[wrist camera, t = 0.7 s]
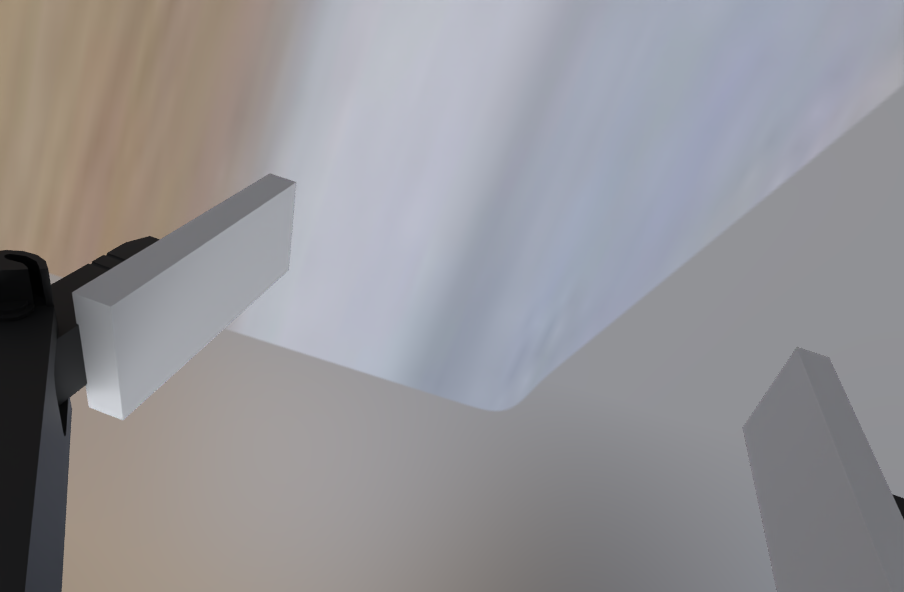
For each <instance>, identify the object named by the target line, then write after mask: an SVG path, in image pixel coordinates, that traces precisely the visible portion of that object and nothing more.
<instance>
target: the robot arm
mask: <svg viewBox="0 0 904 592" xmlns="http://www.w3.org/2000/svg"><path fill="white" fill-rule="evenodd" d="M295 191H296V182H294V181H291V180H288V179H285V178H282V177H279V176H276V175H273V174H268V175H267V176H265V177H263V178H262V179H260V180H258V181H257V182H255V183H253V184H252V185H250V186H248V187H247V188H245V189H243V190H242V191H240V192H238V193H237V194H235V195H233V196H232V197H230V198H228V199H227V200H225V201H223V202H222V203H220V204H218V205H217V206H215V207H213V208H212V209H210V210H208V211H207V212H205V213H203V214H202V215H200V216H198V217H197V218H195V219H193V220H192V221H190V222H188V223H187V224H185V225H183V226H182V227H180V228H178V229H177V230H175V231H173V232H172V233H170V234H168V235H167V236H165V237H163V238H162V239H160V240H159V239H157V238H154V237H151V236H149V237H145V238H141V239H137V240H133V241H130V242H126V243H124V244H122V245H120V246H119V247H117V248H115V249H113V250H112V251H110V252H108V253H107V255H106V256H105V255H103V256H101V257H99V258H97V259H96V260H94V261H92V264H87V265H85V266H83V267H82V268H80V269H78V270H76V271H75V272H73V273H71V274H69V275H67V276H66V277H64V278H62V279H60V280H59V281H57V282H55V283H53V284H52V285H51V284H50V278H49V272H48V267H47V264H46V261H45V260H44V259H42V258H41V257H39V256H38V255H35V254H32V253H28V252H25V251H12V250H3V251H0V592H61V591H62V590H61V589H62V573H63V555H64V537H65V520H66V503H67V485H68V468H69V449H70V433H71V415H72V408H71V402H70V397H71V396H72V395H73V394H75V393H76V392H77V391H79V390H80V389H81V388H82V387H84V386H85V385H86V391H87V398H88V404H89V407H90V408H93V409H95V410H98V411H100V412H103V413H105V414H108V415H110V416H113V417H116V418H118V419H121V420H124V419H125V418H126V417H127V416H129V414H131V413H132V412H133V411H134V410H135V409H136V408H137V407H138V406H139V405H141V404H142V403H143V402H144V401H145V400H146V399H147V398H148V397H149V396H151V395H152V394H153V393H154V392H155V391H156V390H157V389H158V388H159V387H160V386H162V385H163V384H164V383H165V382H166V381H167V380H168V379H169V378H170V377H172V376H173V375H174V374H175V373H176V372H177V371H178V370H179V369H180V368H181V367H183V366H184V365H185V364H186V363H187V362H188V361H189V360H190V359H191V358H192V357H194V356H195V355H196V354H197V353H198V352H199V351H200V350H201V349H202V348H204V346H206V345H207V344H208V343H209V342H210V341H211V340H212V339H213V338H214V337H216V336H217V335H218V334H219V333H220V332H221V331H222V330H223V329H224V328H226V327H227V326H228V325H229V324H230V323H231V322H232V321H233V320H234V319H236V318H237V317H238V316H239V315H240V314H241V313H242V312H243V311H244V310H245V309H247V308H248V307H249V306H250V305H251V304H252V303H253V302H254V301H255V300H256V299H258V298H259V297H260V296H261V295H262V294H263V293H264V292H265V291H266V290H268V289H269V288H270V287H271V286H272V285H273V284H274V283H275V282H276V281H277V280H279V279H280V278H281V277H282V276H283V275H284V274H285V273H286V272H287V271H288V270H289V263H290V251H291V239H292V227H293V215H294V203H295ZM743 432H744V437H745V442H746V447H747V451H748V456H749V461H750V466H751V471H752V475H753V480H754V484H755V489H756V494H757V499H758V503H759V509H760V513H761V518H762V523H763V527H764V533H765V537H766V542H767V547H768V552H769V556H770V561H771V566H772V571H773V575H774V580H775V585H776V590H777V592H904V498H901V497H898V496H895V495H893V494H892V493H891V491H890V489H889V486H888V484H887V482H886V480H885V478H884V476H883V473H882V471H881V469H880V467H879V465H878V462H877V460H876V458H875V456H874V454H873V452H872V449H871V447H870V445H869V443H868V441H867V438H866V436H865V434H864V432H863V430H862V428H861V426H860V423H859V421H858V419H857V417H856V415H855V412H854V410H853V408H852V406H851V404H850V402H849V399H848V397H847V395H846V393H845V391H844V388H843V386H842V384H841V382H840V380H839V378H838V375H837V373H836V371H835V369H834V367H833V364H832V363H831V360H830V358H829V357H826V356H823V355H820V354H817V353H814V352H811V351H808V350H805V349H802V348H799V347H797V348H796V349H795V351H794V352H793V353H792V355H791V356H790V358H789V359H788V361H787V362H786V364H785V365H784V367H783V368H782V370H781V371H780V373H779V374H778V376H777V377H776V379H775V380H774V382H773V383H772V385H771V386H770V388H769V389H768V391H767V392H766V393H765V395H764V396H763V398H762V399H761V401H760V402H759V404H758V405H757V407H756V408H755V410H754V411H753V413H752V414H751V416H750V417H749V419H748V420H747V422H746V423H745V425H744V426H743Z"/></svg>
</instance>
